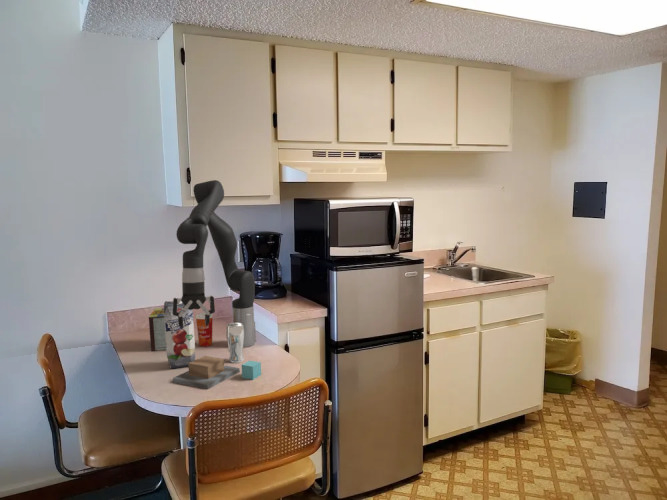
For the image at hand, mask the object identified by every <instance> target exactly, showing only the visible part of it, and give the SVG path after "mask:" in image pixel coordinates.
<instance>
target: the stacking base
mask: <svg viewBox="0 0 667 500" xmlns="http://www.w3.org/2000/svg"><path fill="white" fill-rule="evenodd" d="M188 366H189V367H188V370H187V371H185V372H183V373H181V374H178V375H177V376H175V377H172V382H173V383H176V384H181V385H185V386H192V387H197V388H201V389H205V390H209V389H210V388H212V387H214V386H216V385H219V383H222V382H223V381H226V380H227V379H229V378H230V377H233V376H235V375H236V374H238V373H240V367H235V366H229V365H225V359H224V358H221V357H220V358H219V357H213V356H207V355H204V356H201V357H199V358H197V359H195V361H193V362H190V363H188Z"/></svg>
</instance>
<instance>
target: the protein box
mask: <svg viewBox="0 0 667 500" xmlns="http://www.w3.org/2000/svg"><path fill="white" fill-rule="evenodd" d="M148 328H149V340H150V341H149V342H150V352H163V351H164V352H165V351H166V338H165V322H164V307H163V308H154V309H153V311H151V314H150V315H149V316H148Z"/></svg>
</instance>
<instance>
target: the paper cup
mask: <svg viewBox="0 0 667 500" xmlns="http://www.w3.org/2000/svg"><path fill="white" fill-rule="evenodd" d="M205 315H206V313H205V312H204V311H203V312H199V313H196V315H195V319H196V329H197V336H198V337H197V339H198V345H199V346H200V347H210V346H212V345H213V317H214V315H213V313H212V314H210V323H209V324H208V326H206V325H205Z"/></svg>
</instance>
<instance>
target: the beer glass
mask: <svg viewBox="0 0 667 500" xmlns="http://www.w3.org/2000/svg"><path fill="white" fill-rule="evenodd" d="M225 333H226V341H227V345H228V346H227V347H228V350H229V351H228V352H229V355H228V362H229V363H231V364H238V363H242V362H244V360H245V357H244V352H243V351H244V349H243V348H244V347H243V343H244V328H243V323H240V322H233V321H232V322H229V323H227V324H226V332H225Z"/></svg>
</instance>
